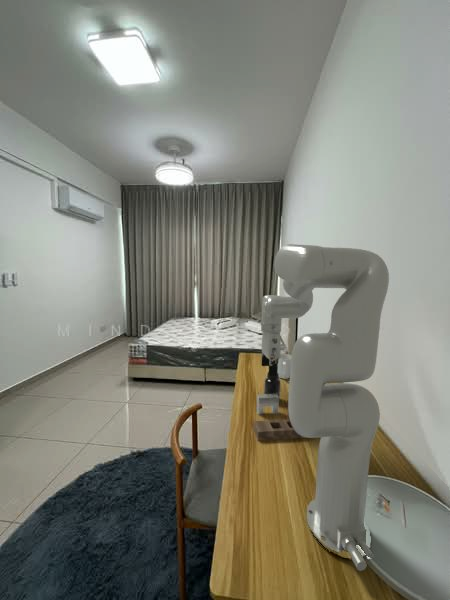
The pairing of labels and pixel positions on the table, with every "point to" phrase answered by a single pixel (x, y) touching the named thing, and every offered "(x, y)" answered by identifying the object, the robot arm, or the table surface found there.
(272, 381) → the supplement bottle
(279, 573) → the table surface
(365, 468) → the robot arm
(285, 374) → the mug
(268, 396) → the grey boxy piece
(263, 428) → the rail
